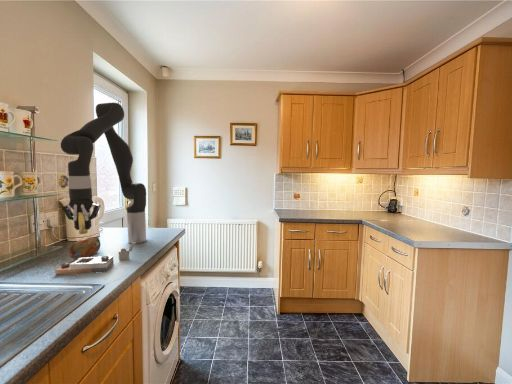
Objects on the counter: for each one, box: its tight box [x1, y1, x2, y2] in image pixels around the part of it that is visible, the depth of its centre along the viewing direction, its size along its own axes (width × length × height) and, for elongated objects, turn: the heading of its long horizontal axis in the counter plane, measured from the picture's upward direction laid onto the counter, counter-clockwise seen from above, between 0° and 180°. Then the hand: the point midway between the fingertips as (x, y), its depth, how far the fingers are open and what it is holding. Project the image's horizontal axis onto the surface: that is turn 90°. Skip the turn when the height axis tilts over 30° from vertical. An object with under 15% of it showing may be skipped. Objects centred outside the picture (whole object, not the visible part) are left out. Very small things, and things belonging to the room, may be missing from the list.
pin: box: [78, 212, 89, 235], centre depth 102 cm, size 3×3×9 cm
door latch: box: [54, 255, 115, 275], centre depth 104 cm, size 8×18×5 cm, turn 99°
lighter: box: [118, 242, 137, 261], centre depth 115 cm, size 7×2×8 cm, turn 105°
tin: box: [69, 236, 101, 260], centre depth 119 cm, size 15×3×8 cm, turn 168°
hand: (83, 229), depth 102 cm, fingers closed on pin, 3 cm apart
